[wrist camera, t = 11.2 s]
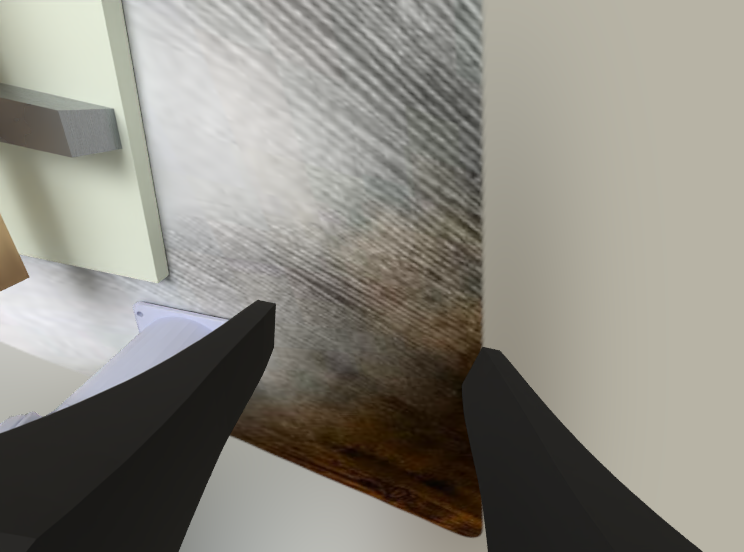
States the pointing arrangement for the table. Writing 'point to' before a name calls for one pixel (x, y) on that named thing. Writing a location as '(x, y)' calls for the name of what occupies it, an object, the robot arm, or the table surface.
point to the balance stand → (75, 140)
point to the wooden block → (9, 260)
